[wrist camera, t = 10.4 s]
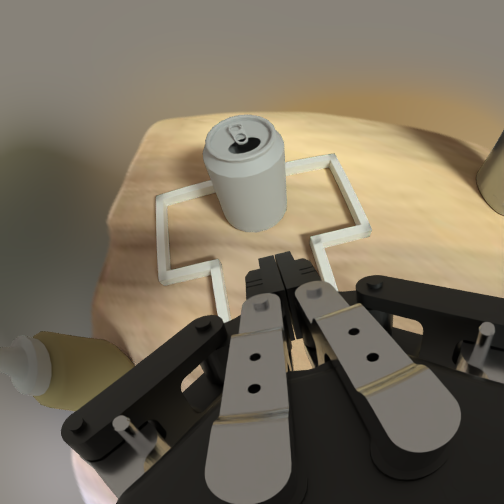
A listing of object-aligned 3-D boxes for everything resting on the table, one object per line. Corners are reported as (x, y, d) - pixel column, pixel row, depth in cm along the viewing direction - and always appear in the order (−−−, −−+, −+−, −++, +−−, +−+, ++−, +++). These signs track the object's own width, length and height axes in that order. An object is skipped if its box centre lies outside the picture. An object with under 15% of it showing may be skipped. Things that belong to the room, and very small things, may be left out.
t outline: (401, 328, 25) (407, 325, 23) (176, 382, 26) (170, 382, 24) (333, 161, 35) (334, 153, 34) (160, 202, 36) (156, 195, 34)
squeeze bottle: (83, 365, 27) (-39, 332, 11) (125, 331, 29) (0, 275, 12) (113, 422, 24) (-17, 428, 8) (161, 390, 25) (25, 387, 9)
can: (236, 245, 31) (209, 176, 21) (217, 197, 35) (190, 125, 24) (297, 222, 32) (298, 145, 21) (272, 176, 35) (263, 101, 24)
